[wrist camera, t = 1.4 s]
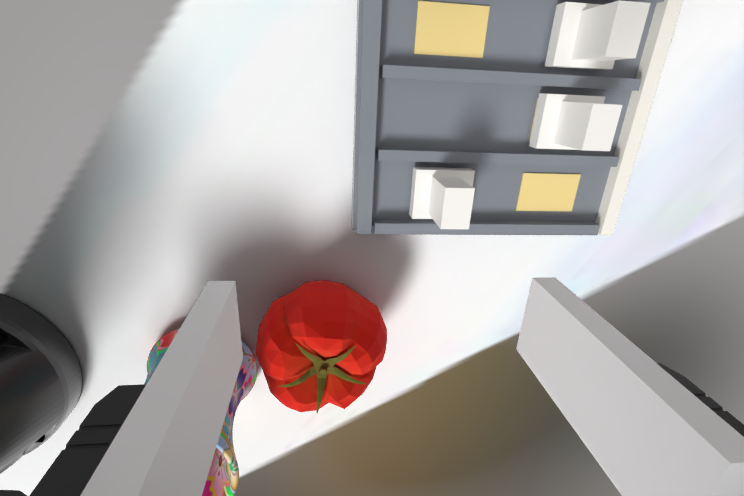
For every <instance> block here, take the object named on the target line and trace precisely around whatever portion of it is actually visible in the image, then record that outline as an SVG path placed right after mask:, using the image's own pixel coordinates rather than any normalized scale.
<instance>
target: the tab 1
mask: <svg viewBox="0 0 744 496" xmlns="http://www.w3.org/2000/svg"><path fill="white" fill-rule="evenodd" d="M474 174H475V171H474V170H472V169H471V168H446V167H413V176H412V188H411V199H410V211H409V215H410V216H411V218H412V219H433V220H434V221H435V223H436V224H437V225H438V227H439V228H440V229H469V225H470V218H471V211H472V205H473V198H474V191H475V188H474V187H473V181H474Z"/></svg>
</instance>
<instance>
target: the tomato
mask: <svg viewBox="0 0 744 496" xmlns="http://www.w3.org/2000/svg"><path fill="white" fill-rule="evenodd" d="M386 342H387V329H386V326H385V324H384V321H383V319H382V316H381V314H380V312H379V310H378V308H377V306H376V305H374V304H373V303H371V302H370V301H368V300H367V299H365V298H364V297H362V296H361V295H359V294H358V293H356V292H355V291H353V290H352V289H350V288H349V287H347V286H346V285H344V284H342V283H337V282H332V281H326V280H321V281H310V282H306V283H304V284H303V285H301V286H300V287H299V288H297V289H296V290H294V291H293V292H291V293H289V294H287V295H285V296H282V297H280V298H278V299H277V300H275V301H274V302H273V303H272V304H271V306H270V307H269V309H268V311H267V312H266V314H265V316H264V318H263V320H262V322H261V324H260V326H259V331H258V337H257V345H256V355H257V358H258V361H259V364H260V366H261V367H262V369H263V372H264V375H265V378H266V380H267V383H268V386H269V389H270V392H271V393H272V394H273V395H274V396H275V397H276V398H277V399H278V400H279V401H280V402H281V403H282V404H284V405H285V406H287V407H288V408H291V409H294V410H297V411H299V412H305V411H313V410H317V412H318V410H319V409H320V408H321V407H323V406H324V405H326V404H327V403H332V404H334V405H337V406H339V407H341V408H344V409H345V408H346V407H347V406H349V405H350V404H351V403H352V402H353V401H355V400H356V399H357V398H358V397H359V396H360V395H362V394H363V392H364V391H365V389H366V388H367V386H368V385H369V383H370V382H371V381H372V379H373V376H374V373H375V369H376V366H377V365H378V364H379V363H380V362H382V360H383V357H384V354H385V351H386Z"/></svg>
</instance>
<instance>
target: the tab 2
mask: <svg viewBox="0 0 744 496" xmlns="http://www.w3.org/2000/svg"><path fill="white" fill-rule="evenodd" d="M650 4H651V3H645V2H633V1H620V0H619V1H615V2H612V3H608V4H605V5H601V4H588V3H576V2H564V3H561V4H558V5H557V6H556V11H555V16H554V21H553V26H552V31H551V36H550V41H549V47H548V52H547V57H546V62H545V67H562V68H579V69H596V70H610V69H613V66H614V62H615V60H621V59H633V58H636V55H637V51H638V47H639V44H640V40H641V36H642V33H643V29H644V26H645V22H646V18H647V15H648V11H649V7H650Z"/></svg>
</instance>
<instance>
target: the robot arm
mask: <svg viewBox="0 0 744 496" xmlns="http://www.w3.org/2000/svg"><path fill="white" fill-rule="evenodd" d="M516 349H517V350H518V352H519V353H520V355H521V356H522V358H523V359H524V360H525V362H526V363H527V364H528V366H529V367H530V369H531V370H532V371H533V373H534V374H535V376H536V377H537V378H538V380H539V381H540V383H541V384H542V385H543V387H544V388H545V390H546V391H547V392H548V394H549V395H550V396H551V398H552V399H553V400H554V402H555V403H556V405H557V406H558V408H559V409H560V410H561V412H562V413H563V415H564V416H565V417H566V419H567V420H568V421H569V423H570V424H571V426H572V427H573V428H574V430H575V431H576V433H577V434H578V435H579V437H580V438H581V439H582V441H583V442H584V444H585V445H586V446H587V448H588V449H589V451H590V452H591V453H592V455H593V456H594V457H595V459H596V460H597V462H598V463H599V464H600V466H601V467H602V469H603V470H604V472H605V473H606V474H607V476H608V477H609V478H610V480H611V481H612V483H613V484H614V485H615V487H616V488H617V489H618V491H619V492H620V494H621V495H622V496H744V425H743V424H742V423H741V422H740V421H738V420H737V419H736V418H735V417H733V416H732V415H731V414H730V413H729V412H727V411H723V409H722V407H721V406H720V405H718V403H716V402H715V401H714V400H713V399H711V398H710V397H706V396H705V393H704V392H703V391H702V390H700V389H699V388H697V386H695V385H694V384H693V383H692V382H691V381H689V380H688V379H687V378H686V377H684V376H682V375H680V374H679V373H677V372H675V371H673V370H672V369H670V368H668V367H666V366H665V365H663V364H661V363H656V362H654V361H653V360H652V359H651V358H650V357H648V356H647V355H646V354H645V353H644V352H643V351H641V350H640V349H639V348H638V347H636V346H635V345H634V344H633V343H632V342H631V341H629V340H628V339H627V338H626V337H625V336H624V335H622V334H621V333H620V332H619V331H618V330H616V329H615V328H614V327H613V326H612V325H611V324H609V323H608V322H607V321H606V320H605V319H603V318H602V317H601V316H600V315H599V314H597V313H596V312H595V311H594V310H593V309H592V308H590V307H589V306H588V305H587V304H586V303H584V302H583V301H582V300H581V299H580V298H579V297H577V296H576V295H575V294H574V293H573V292H571V291H570V290H569V289H568V288H567V287H566V286H564V285H563V284H562V283H561V282H560V281H558V280H557V279H556V278H532V282H531V287H530V291H529V296H528V300H527V304H526V309H525V313H524V318H523V322H522V326H521V331H520V335H519V340H518V344H517V348H516ZM242 360H243V352H242V342H241V332H240V322H239V312H238V302H237V291H236V281H208V282H207V284H206V285H205V287H204V289H203V290H202V292H201V294H200V295H199V297H198V299H197V300H196V302H195V304H194V305H193V307H192V309H191V310H190V312H189V314H188V315H187V317H186V319H185V320H184V322H183V324H182V326H181V327H180V329H179V331H178V332H177V334H176V336H175V337H174V339H173V341H172V342H171V344H170V346H169V347H168V349H167V351H166V352H165V354H164V356H163V357H162V359H161V361H160V363H159V364H158V366H157V368H156V369H155V371H154V373H153V374H152V376H151V378H150V379H149V381H148V383H147V384H146V385H122V386H118V387H116V388H115V389H114V390H113V391H111V392H110V393H109V394H108V395H106V396H105V397H104V398H103V399H101V400H100V401H99V402H98V403H96V404H95V405H94V407H93V408H92V410H91V411H90V412H89V414H88V415H87V417H86V418H85V419H84V421H83V422H82V423H81V425H80V428H79V431H76V432H75V433H74V435H73V436H72V437H71V439H70V440H69V442H68V443H67V444H66V449H65V450H62V451H61V453H60V454H59V456H58V457H57V458H56V460H55V461H54V462H53V464H52V465H51V467H50V468H49V469H48V471H47V472H46V474H45V475H44V476H43V478H42V479H41V481H40V482H39V483H38V485H37V486H36V488H35V489H34V490H33V492H32V493H31V495H30V496H202V493H203V490H204V486H205V483H206V480H207V476H208V473H209V470H210V466H211V463H212V460H213V456H214V453H215V450H216V446H217V443H218V440H219V436H220V433H221V430H222V426H223V423H224V420H225V416H226V413H227V410H228V406H229V403H230V400H231V396H232V393H233V390H234V386H235V383H236V380H237V377H238V373H239V370H240V367H241V363H242ZM81 389H82V373H81V368H80V364H79V361H78V359H77V357H76V354H75V352H74V351H73V349H72V347H71V346H70V344H69V343H68V341H67V340H66V339H65V337H64V336H63V335H62V334H61V333H60V332H59V330H58V329H57V328H56V327H55V326H53V325H52V324H51V323H50V322H49V321H48V320H47V319H45V318H44V317H43V316H41V315H40V314H39V313H37V312H36V311H34V310H33V309H31V308H29V307H28V306H26V305H24V304H22V303H21V302H19V301H17V300H14V299H12V298H10V297H8V296H5V295H3V294H0V474H1V473H2V472H3V471H5V470H6V469H7V468H9V467H10V466H11V465H13V464H14V463H15V462H16V461H17V460H19V459H20V458H21V457H22V456H23V455H25V454H27V453H29V452H31V451H32V450H34V449H36V448H37V447H39V446H40V445H41V444H43V443H44V442H45V441H46V440H48V439H49V438H50V437H51V436H52V435H53V434H54V433H55V432H56V431H57V430H58V428H59V427H60V426H61V425H62V423H63V422H64V421H65V419H66V418H67V417H68V416H69V414H70V413H71V412H72V410H73V409H74V407H75V406H76V404H77V402H78V400H79V397H80V394H81ZM0 496H27V495H25V494H24V493H22V492H21V491H13V490H0Z"/></svg>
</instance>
